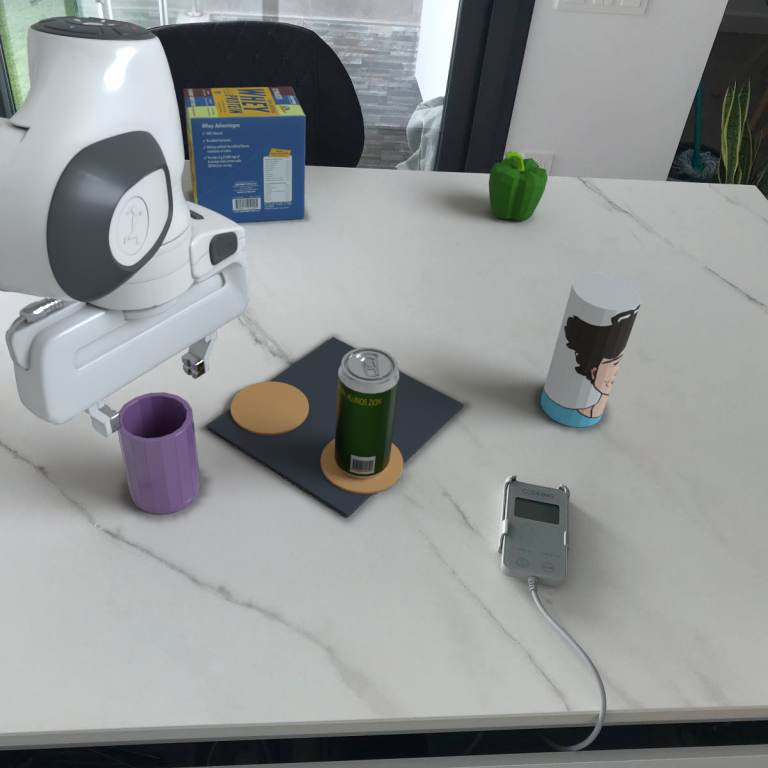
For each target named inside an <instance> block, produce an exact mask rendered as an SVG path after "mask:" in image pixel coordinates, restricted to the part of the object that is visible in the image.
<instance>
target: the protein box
mask: <svg viewBox="0 0 768 768" xmlns="http://www.w3.org/2000/svg"><path fill="white" fill-rule="evenodd" d="M182 91H183V100H184V111H185V123H186V125H185V126H186V137H187V147H188V157H189V158H188V159H189V168H190V169H189V170H190V179H191V188H192V194H193V196H192V197H193V203H195V204H198V205H200V206H203V207H205V208H208V209H210V210H212V211H215V212H217V213H219V214H221V215H223V216H225V217H227V218H228V219H230V220H232V221H234V222H235V223H237V224H239V223H253V222H270V221H271V222H272V221H273V222H274V221H287V220H288V221H289V220H303V219H305V210H306V209H305V203H306V202H305V199H306V198H305V197H306V196H305V195H306V193H305V192H306V186H305V185H306V121H307V120H306V119H307V118H306V117H307V116H306V114H305V112H304V110H303V107H302V106H301V104H300V101H299V100H298V97H297V96H296V93H295V91H294V88H293V87H292V86H258V87H257V86H253V87H252V86H250V87H210V88H209V87H207V88H205V87H204V88H190V87H189V88H183V89H182Z"/></svg>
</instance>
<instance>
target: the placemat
mask: <svg viewBox="0 0 768 768" xmlns="http://www.w3.org/2000/svg"><path fill="white" fill-rule="evenodd" d="M354 349H357V348H356V347H354V346H352V345H350V344H348V343H346V342H344V341H342V340H340V339H338V338H336V337H334V336H332V337H331V338H329V339H328V340H326V341H325V342H323V343H322V344H321V345H319V346H317V348H315V349H314V350H312V351H311V352H309V353H308V354H306V355H305V356H304V357H303V358H300V359H299V360H298V361H297V362H295V363H294V364H292V365H291V366H289V367H288V368H287V369H285V370H284V371H282V372H281V373H280V374H278V375H277V376H275V377H274V378H272V379H271V380H269V381H261V382H255V383H253V384H250V385H248V386H245V387H243V388H242V389H240V390H239V391H238V392H237V393H236V394H235V396H234V397H233V398H232V400H231V403H230V409H228V410H227V411H225V412H224V413H222V414H221V415H219V416H218V417H216V419H213V421H212V422H209V423H208V424H206V428H207V430H210V431H211V432H212V433H214V434H216V435H217V436H218V437H219V438H222V439H223V440H225V441H226V442H228V443H229V444H231V445H233V446H234V447H236V448H237V449H239V450H240V451H242V452H243V453H245V454H247V455H248V456H250V457H252V458H253V459H255V460H256V461H258V462H260V463H261V464H262V465H264V466H265V467H267V468H269V469H270V470H271V471H274V472H275V473H277V474H278V475H280V476H281V477H282V478H284V479H286V480H288V481H289V482H291V483H292V484H294V485H295V486H297V487H299V489H302V490H303V491H305V492H307V493H308V494H310V495H311V496H313V497H314V498H317V500H319V501H320V502H322V503H323V504H326V505H327V506H328V507H329V508H332V509H333V510H335V511H336V512H338V513H339V514H341V515H343V516H344V517H346V518H349V517H350V516H351V515H352V514H353V513H354V512H355V511H357V509H358V508H359V507H360V506H361V505H362V504H364V503H365V502H366V501H367V500H368V499H369V498H370V497H371V496H372V495H373V494H375V493H380V492H382V491H385V490H387V489H389V488H390V487H392V486H393V485H395V483H397V482H398V480H400V477H401V476H402V473H403V471H404V470H403V469H404V465H405V463H406V462H407V461H408V460H410V459H411V458H412V456H414V455H415V454H416V453H417V452H418V451H419V450H420V449H421V448H423V446H424V445H425V444H426V443H428V441H429V440H430V439H432V438H433V437H434V435H436V434H437V433H438V432H439V431H440V430H441V429H442V428H443V427H444V426H445V425H446V424H447V423H448V422H449V421H450V420H451V419H453V417H454V416H455V415H457V413H458V412H459V411H461V410H462V408H464V406H465V405H464V403H462V402H460V401H458V400H456V399H454V398H452V397H450V396H448V395H447V394H444V393H443V392H441V391H439V390H437V389H435V388H433V387H431V386H429V385H428V384H425V383H423V382H422V381H419V380H418V379H416V378H413V377H412V376H410V375H408V374H406V373H404V372H402V371H400V370H398V371H399V385H398V394H397V402H396V411H395V420H394V428H393V437H392V446H391V454H390V461H389V463H388V466H387V467H386V468H385V470H384V471H383V472H382V473H381V474H380V475H378V476H376V477H374V478H371V479H366V480H365V479H355V478H351V477H349V476H347V475H346V474H344V473H343V472H342V471H341V470H340V469H339V467H338V465H337V464H336V461H335V459H334V451H335V431H336V410H337V390H338V370H339V367H340V366H341V362H342V359H343V357H344V355H346V354H347V353H348V352H349V351H352V350H354Z"/></svg>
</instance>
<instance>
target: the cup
mask: <svg viewBox="0 0 768 768" xmlns="http://www.w3.org/2000/svg"><path fill="white" fill-rule="evenodd" d="M643 298H644V297H643V293H642V291H641V290H640V288H638V287H637V285H635V283H634V282H631V281H630V280H629V279H626V278H624V277H622V276H619V275H617V274H613V273H609V272H603V271H591V272H586V273H585V272H584V273H581V274H580V275H578V276H577V277H575V278H574V280H573V282H572V284H571V288H570V290H569V295H568V298H567V302H566V306H565V309H564V314H563V317H562V321H561V324H560V328H559V331H558V335H557V339H556V342H555V346H554V350H553V353H552V357H551V361H550V365H549V368H548V371H547V376H546V379H545V381H544V386H543V390H542V393H541V398H540V405H541V408H542V410H543V411H544V414H546V415H547V416H548V417H549V418H550V419H552V420H553V421H555V422H556V423H559V424H561V425H564V426H567V427H572V428H588V427H590V426H594V425H596V424H597V423H598V422H599V421H600V420H601V418H602V416H603V413H604V410H605V407H606V406H607V405H606V404H607V402H608V399H609V396H610V393H611V391H612V387H613V384H614V382H615V379H616V376H617V373H618V370H619V368H620V366H621V365H620V364H621V362H622V359H623V356H624V353H625V350H626V347H627V344H628V343H629V338H630V335H631V334H632V330H633V328H634V324H635V322H636V319H637V316H638V313H639V310H640V307H641V304H642V301H643Z"/></svg>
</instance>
